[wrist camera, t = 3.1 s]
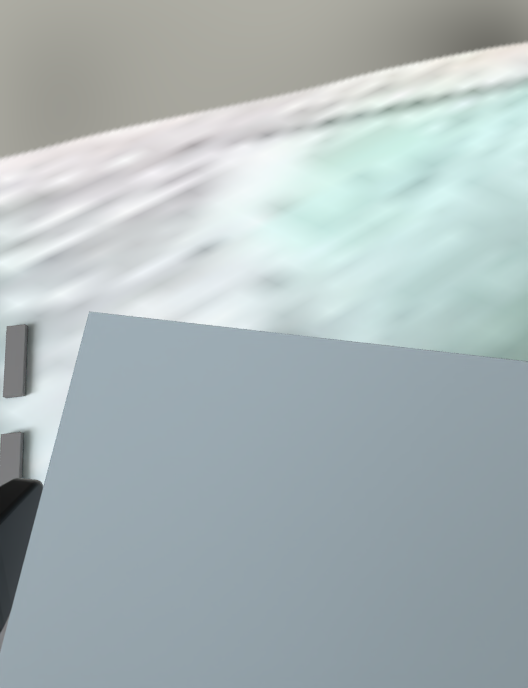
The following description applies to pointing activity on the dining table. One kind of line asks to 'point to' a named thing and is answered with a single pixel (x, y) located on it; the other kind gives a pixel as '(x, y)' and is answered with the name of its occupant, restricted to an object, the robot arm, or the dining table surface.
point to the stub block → (277, 517)
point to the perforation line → (7, 456)
